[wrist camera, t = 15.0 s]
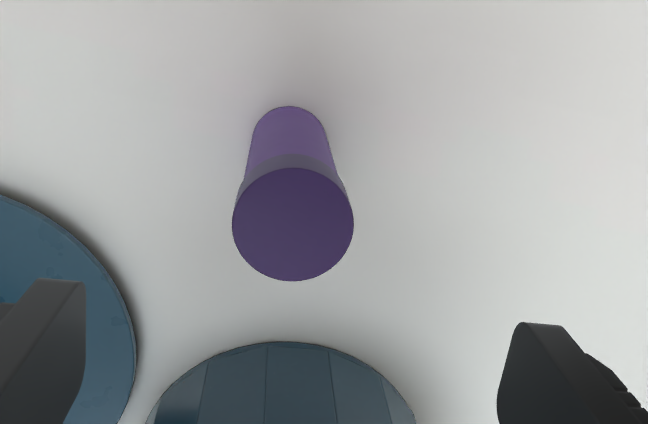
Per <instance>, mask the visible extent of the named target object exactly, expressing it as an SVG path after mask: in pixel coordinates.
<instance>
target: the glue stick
mask: <svg viewBox="0 0 648 424" xmlns="http://www.w3.org/2000/svg"><path fill="white" fill-rule="evenodd" d="M353 228H354V219H353V213H352V209H351V205H350V202H349V199H348V196H347V193H346V190H345V187H344V185H343V183H342V181H341V179H340V178H339V177H338V174H337V171H336V168H335V164H334V161H333V158H332V154H331V151H330V148H329V144H328V141H327V137H326V134H325V131H324V129H323V127H322V125H321V123H320V122H319V120H318V119H317V118H316V117H315V116H314V115H313V114H311V113H310V112H308V111H306V110H304V109H301V108H298V107H292V106H287V107H280V108H277V109H274V110H272V111H270V112H268V113H267V114H266V115H264V116H263V117H262V118H261V119H260V121H259V122H258V123H257V125H256V127H255V129H254V132H253V136H252V141H251V146H250V150H249V155H248V160H247V165H246V170H245V175H244V180H243V182H242V184H241V186H240V188H239V191H238V194H237V198H236V202H235V207H234V211H233V217H232V232H233V237H234V241H235V244H236V246H237V249H238V250H239V252H240V254H241V255H242V257H243V258H244V259H245V260H246V262H247V263H248V264H250V265H251V266H252V267H253V268H254V269H256V270H257V271H258V272H260V273H262V274H264V275H266V276H268V277H271V278H274V279H278V280H283V281H302V280H307V279H311V278H314V277H317V276H319V275H321V274H323V273H325V272H326V271H328V270H329V269H331V268H332V267H333V266H334V265H336V264H337V263H338V262H339V260H340V259H341V258H342V257H343V255H344V254H345V253H346V251H347V249H348V247H349V245H350V242H351V239H352V235H353Z"/></svg>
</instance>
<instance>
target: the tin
mask: <svg viewBox="0 0 648 424" xmlns="http://www.w3.org/2000/svg"><path fill="white" fill-rule="evenodd" d="M145 424H416V420H415V417H414V414H413V412H412V411H411V410H410V409H409V407H408V406H407V404H406V402H405V400H404V399H403V398H402V397H401V395H400V394H399V393H398V391H397V390H396V389H395V387H394V386H393V385H392V384H390V383H389V382H388V381H387V380H386V379H385V378H384V377H383V376H382V375H381V374H379V373H378V372H377V371H375V370H374V369H373V368H371V367H370V366H369V365H367V364H365V363H363V362H361V361H359V360H358V359H356V358H354V357H352V356H349V355H347V354H344V353H342V352H339V351H337V350H334V349H330V348H326V347H322V346H318V345H312V344H305V343H298V342H272V343H261V344H254V345H250V346H245V347H240V348H236V349H233V350H230V351H227V352H224V353H221V354H219V355H217V356H215V357H213V358H210V359H208V360H206V361H204V362H202V363H201V364H199V365H197V366H196V367H194V368H193V369H191V370H189V371H188V372H186V373H185V374H184V375H183V376H182V377H180V378H179V379H178V380H177V381H176V382H174V383H173V384H172V385H171V386H170V387H169V388H168V390H167V391H166V392H165V393H164V394H163V395H162V396H161V397H160V399H159V400H158V402H157V403H156V405H155V406H154V408H153V409H152V411H151V413H150V415H149V417H148V419H147V421H146V423H145Z"/></svg>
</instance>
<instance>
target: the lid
mask: <svg viewBox="0 0 648 424" xmlns="http://www.w3.org/2000/svg"><path fill="white" fill-rule="evenodd" d="M38 278H49V279H60V280H71V281H82V282H83V283H84V284H85V288H86V363H85V371H84V376H83V380H82V384H81V387H80V390H79V393H78V395H77V397H76V399H75V401H74V403H73V404H72V406H71V408H70V410H69V412H68V414H67V416H66V418H65V420H64V422H63V424H117V423H118V421H119V420H120V418H121V415H122V413H123V411H124V409H125V407H126V405H127V402H128V400H129V397H130V393H131V390H132V386H133V382H134V378H135V369H136V342H135V337H134V332H133V327H132V322H131V319H130V316H129V313H128V310H127V308H126V305H125V302H124V300H123V298H122V296H121V294H120V292H119V291H118V289H117V287H116V285H115V283H114V281H113V280H112V279H111V277H110V276H109V274H108V273H107V271H106V270H105V268H104V267H103V266H102V264H101V263H100V262H99V261H98V260H97V259H96V258H95V256H94V255H93V254H92V253H91V252H90V251H89V250H88V249H87V248H86V246H84V245H83V244H82V243H81V242H80V241H79V240H78V239H76V238H75V237H74V236H73V235H72V234H71V233H70V232H68V231H67V230H66V229H64V228H63V227H61V226H60V225H59V224H57V223H56V222H54V221H53V220H51V219H50V218H48V217H47V216H45V215H43V214H42V213H40V212H38V211H36V210H34V209H32V208H30V207H28V206H27V205H25V204H23V203H20V202H18V201H15V200H13V199H10V198H8V197H5V196H3V195H0V303H2V302H5V303H16V302H17V301H18V300H19V299H20V298H21V297H22V295H23V294H24V293H25V292H26V291H27V290H28V288H29V287H30V286H31V285H32V284H33V283H34V281H35V280H36V279H38Z"/></svg>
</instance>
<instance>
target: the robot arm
mask: <svg viewBox="0 0 648 424" xmlns="http://www.w3.org/2000/svg"><path fill="white" fill-rule="evenodd" d="M85 363H86V288H85V284H84V283H83V282H82V281H71V280H60V279H49V278H38V279H36V280H35V281H34V283H33V284H32V285H31V286H30V287H29V288H28V290H27V291H26V292H25V293H24V294H23V295H22V297H21V298H20V299H19V300H18V301H17V302H16V303H5V302H2V303H0V424H63V422H64V420H65V418H66V416H67V414H68V412H69V410H70V408H71V406H72V404H73V403H74V401H75V399H76V397H77V395H78V393H79V390H80V387H81V384H82V380H83V376H84V371H85ZM640 405H641V404H640V403H639V402H638V400H637V399H636V398H635V397H634V396H633V395H632V393H631V392H627V388H626V386H625V385H624V384H623V383H622V382H621V381H620V379H619V378H618V377H617V376H616V375H615V374H614V372H613V371H612V370H610V369H609V368H608V367H606V366H605V365H603V364H602V363H600V362H599V361H598V360H596V359H595V358H593V357H592V356H590V355H589V354H586V353H584V352H583V351H582V349H581V348H580V347H579V346H578V345H577V343H576V342H575V341H574V340H573V339H572V337H571V336H570V335H569V334H568V332H567V331H566V330H565V329H564V328H563V327H562V326H559V325H549V324H538V323H526V322H521V323H519V324H518V325H517V326H516V328H515V330H514V333H513V336H512V340H511V343H510V347H509V351H508V355H507V359H506V362H505V366H504V370H503V374H502V378H501V381H500V385H499V389H498V394H497V415H498V420H499V423H500V424H648V412H647V411H646V410H645V409H644V408H641V406H640Z"/></svg>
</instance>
